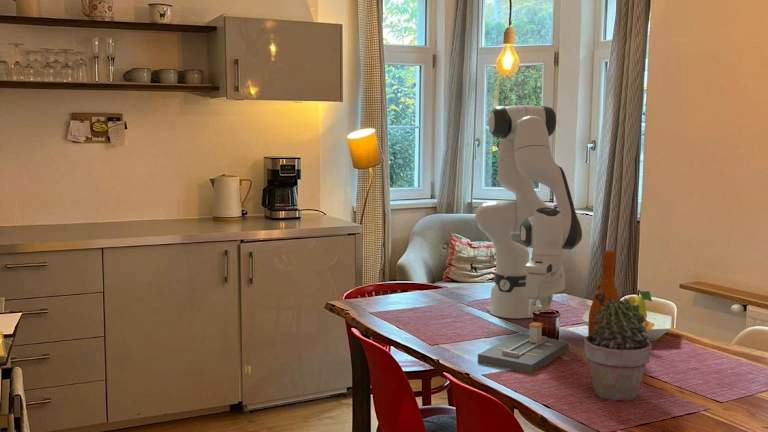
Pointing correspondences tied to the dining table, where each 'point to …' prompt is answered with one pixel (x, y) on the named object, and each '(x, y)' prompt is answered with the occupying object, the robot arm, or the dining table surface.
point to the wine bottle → (604, 287)
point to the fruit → (654, 318)
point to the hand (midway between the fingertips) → (545, 309)
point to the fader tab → (535, 332)
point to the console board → (523, 353)
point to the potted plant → (617, 349)
